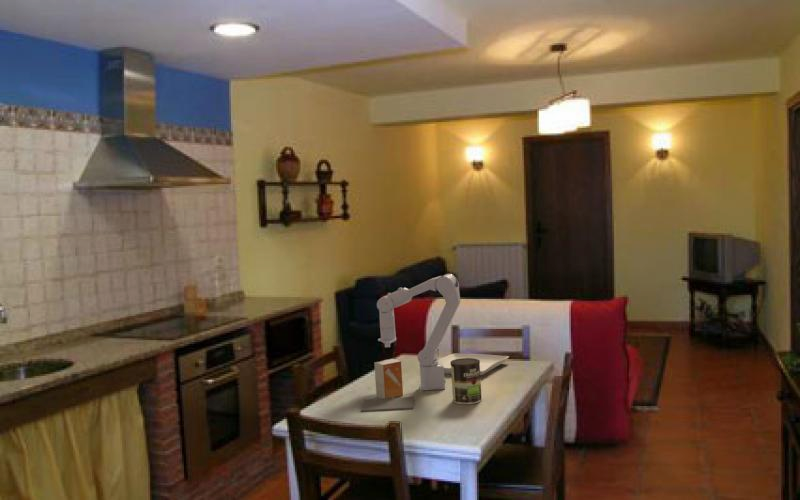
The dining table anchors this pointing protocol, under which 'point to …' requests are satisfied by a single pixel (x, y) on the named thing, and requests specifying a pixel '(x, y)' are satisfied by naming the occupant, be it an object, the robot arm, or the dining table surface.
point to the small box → (388, 378)
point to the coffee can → (466, 381)
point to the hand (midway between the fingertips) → (389, 362)
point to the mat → (387, 404)
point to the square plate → (485, 360)
